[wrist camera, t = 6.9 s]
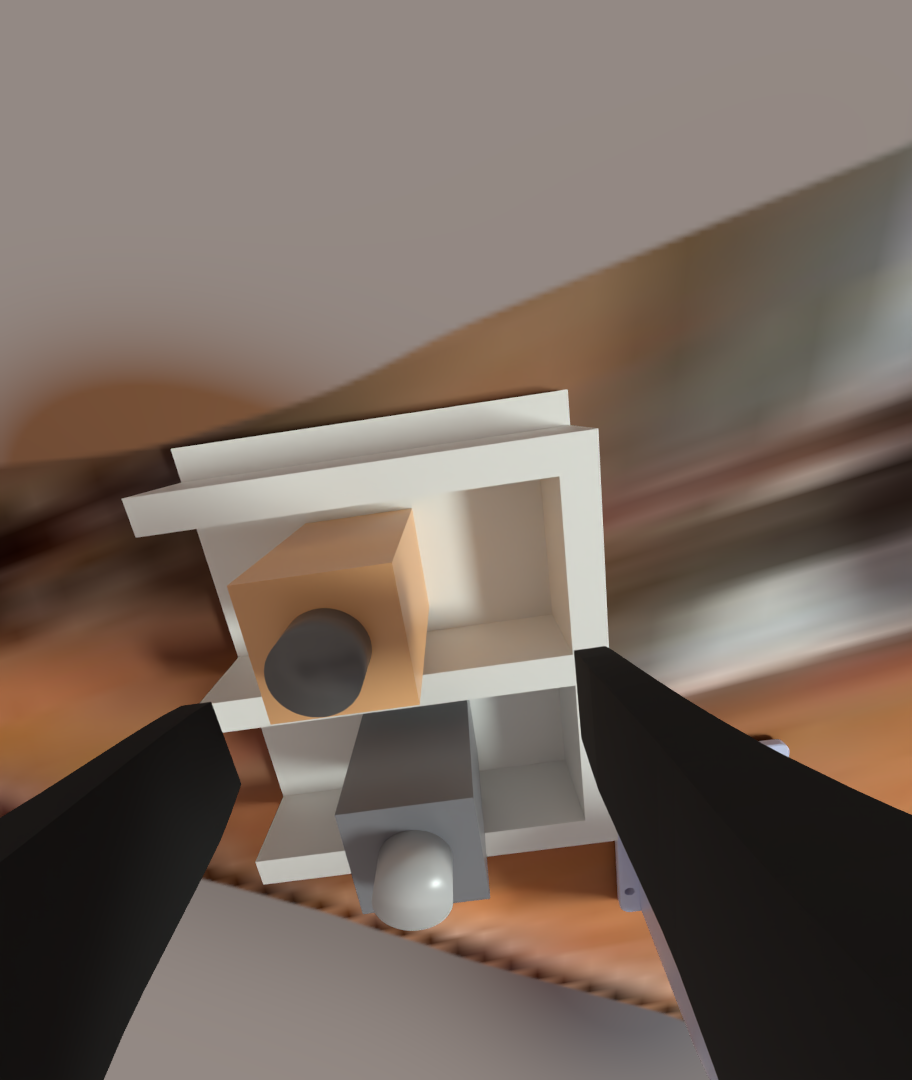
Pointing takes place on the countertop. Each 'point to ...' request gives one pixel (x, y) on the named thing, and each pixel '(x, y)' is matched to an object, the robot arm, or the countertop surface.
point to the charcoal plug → (414, 814)
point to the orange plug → (337, 618)
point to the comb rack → (453, 594)
